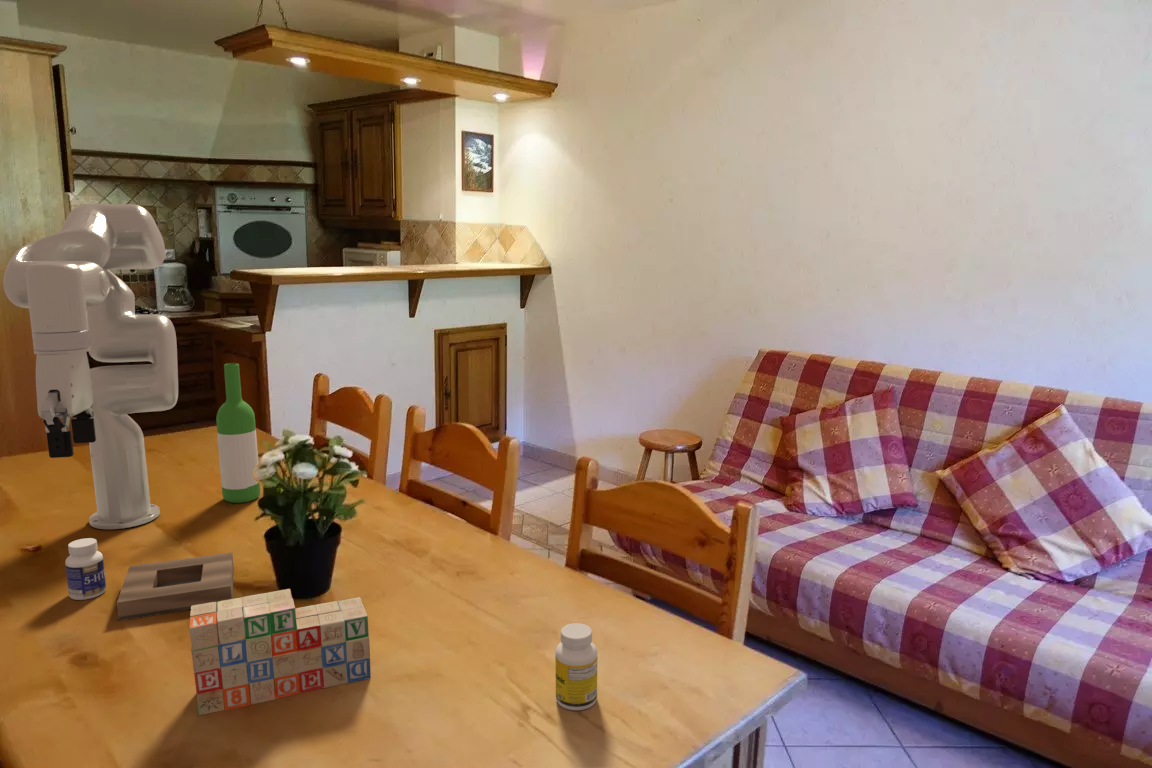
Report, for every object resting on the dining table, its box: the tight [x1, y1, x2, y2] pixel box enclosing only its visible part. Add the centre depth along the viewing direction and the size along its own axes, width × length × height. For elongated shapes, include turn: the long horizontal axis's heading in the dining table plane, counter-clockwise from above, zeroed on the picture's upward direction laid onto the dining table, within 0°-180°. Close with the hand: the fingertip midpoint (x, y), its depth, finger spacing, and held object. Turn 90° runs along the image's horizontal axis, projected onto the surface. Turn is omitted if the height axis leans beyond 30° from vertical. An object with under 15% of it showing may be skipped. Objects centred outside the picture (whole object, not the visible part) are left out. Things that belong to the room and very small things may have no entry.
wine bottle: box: [215, 362, 261, 504], centre depth 174 cm, size 8×8×30 cm
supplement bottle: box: [555, 622, 598, 711], centre depth 103 cm, size 5×5×10 cm
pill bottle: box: [64, 537, 107, 601], centre depth 131 cm, size 5×5×9 cm
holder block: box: [116, 552, 235, 621], centre depth 132 cm, size 14×16×3 cm
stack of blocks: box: [189, 588, 372, 716], centre depth 106 cm, size 21×6×12 cm, turn 114°
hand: (73, 449), depth 128 cm, fingers open, 9 cm apart
